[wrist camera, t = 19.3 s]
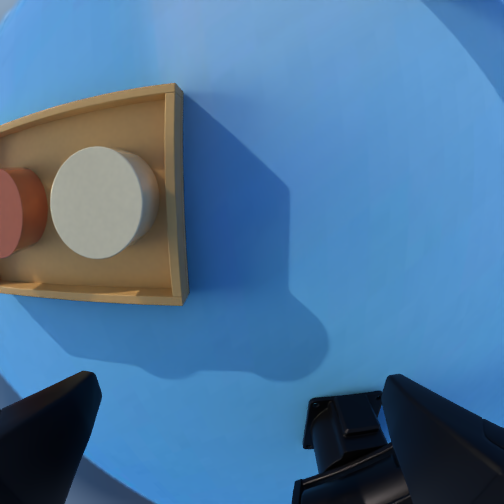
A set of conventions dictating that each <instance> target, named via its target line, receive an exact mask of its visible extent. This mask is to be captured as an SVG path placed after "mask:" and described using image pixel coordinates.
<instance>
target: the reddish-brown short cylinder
mask: <svg viewBox="0 0 504 504" xmlns="http://www.w3.org/2000/svg"><path fill="white" fill-rule="evenodd" d="M47 216H48V204H47V197H46V192H45V189H44V187H43V184H42V182H41V180H40V179H39V177H38V176H37V175H36V174H35V172H33V171H32V170H31V169H29V168H26V167H6V168H0V258H6V257H9V256H11V255H13V254H16V253H18V252H21V251H23V250H25V249H28V248H30V247H32V246H34V245H35V244H36V243H37V242H38V241H39V240H40V238H41V237H42V235H43V233H44V230H45V227H46V223H47Z"/></svg>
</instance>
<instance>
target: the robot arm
mask: <svg viewBox="0 0 504 504" xmlns="http://www.w3.org/2000/svg"><path fill="white" fill-rule="evenodd" d="M378 396H379V397H378ZM101 399H102V393H101V389H100V386H99V383H98V380H97V377H96V375H95V374H94V373H93V372H89V371H81V372H79V373H77V374H75V375H73V376H71V377H69V378H66V379H64V380H62V381H60V382H58V383H56V384H54V385H52V386H50V387H48V388H46V389H43V390H41V391H39V392H37V393H35V394H33V395H31V396H29V397H26V398H24V399H22V400H20V401H18V402H16V403H14V404H11V405H9V406H7V407H5V408H3V409H2V410H0V504H65V501H66V498H67V495H68V492H69V489H70V487H71V484H72V482H73V479H74V476H75V474H76V471H77V468H78V466H79V463H80V460H81V458H82V456H83V453H84V451H85V448H86V446H87V443H88V441H89V438H90V436H91V432H92V429H93V426H94V422H95V419H96V415H97V412H98V409H99V405H100V402H101ZM314 403H317V404H314ZM381 405H382V406H383V410H384V414H385V418H386V422H387V426H388V430H389V435H390V438H391V442H390V443H387V441H386V438H385V436H384V434H383V432H382V429H381V427H380V424H379V421H378V419H377V417H378V414H379V411H380V408H381ZM303 448H304V449H314V451H315V456H316V461H317V467H318V472H319V474H317V475H315V476H312V477H309V478H306V479H300V480H297V481H295V484H294V490H293V497H292V504H504V428H502V427H500V426H498V425H496V424H494V423H492V422H490V421H488V420H486V419H482V417H480V416H478V415H476V414H474V413H472V412H470V411H468V410H466V409H464V408H463V407H461V406H459V405H457V404H455V403H453V402H451V401H449V400H447V399H446V398H444V397H442V396H440V395H438V394H436V393H434V392H433V391H431V390H429V389H427V388H425V387H423V386H422V385H420V384H418V383H416V382H414V381H412V380H411V379H409V378H407V377H405V376H403V375H401V374H395V375H389V376H388V377H387V379H386V382H385V386H384V389H383V392H382V391H374V392H367V393H359V394H351V395H341V396H331V397H319V398H313V399H311V400H310V401H309V404H308V411H307V418H306V425H305V432H304V438H303Z"/></svg>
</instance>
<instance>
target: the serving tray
mask: <svg viewBox="0 0 504 504" xmlns="http://www.w3.org/2000/svg"><path fill="white" fill-rule="evenodd" d="M94 146H101V147H109V148H115V149H122V150H127V151H130V152H132V153H135V154H136V155H138V156H140V157H141V158H142V159H143V160H144V161H145V162H146V163H147V164H148V165H149V167H150V168H151V169H152V171H153V173H154V175H155V177H156V180H157V183H158V188H159V195H160V199H159V210H158V213H157V217H156V219H155V222H154V224H153V226H152V227H151V229H150V230H149V232H148V233H147V234H146V235H145V236H144V237H143V238H142V239H140V240H139V241H138V242H136V243H134V244H133V245H131V246H130V247H128V248H126V249H125V250H123V251H121V252H120V253H118V254H116V255H114V256H112V257H109V258H105V259H91V258H87V257H84V256H81V255H79V254H77V253H76V252H74V251H73V250H72V249H70V248H69V247H68V246H67V245H66V244H65V243H64V241H63V240H62V239H61V237H60V236H59V234H58V232H57V230H56V228H55V226H54V223H53V219H52V215H51V208H50V197H51V190H52V185H53V182H54V179H55V177H56V174H57V173H58V171H59V169H60V167H61V166H62V165H63V163H64V162H65V161H66V160H67V159H68V158H69V157H70V156H72V155H73V154H74V153H76V152H78V151H79V150H82V149H84V148H88V147H94ZM6 167H26V168H29V169H31V170H32V171H33V172H35V174H36V175H37V176H38V177H39V179H40V180H41V182H42V184H43V187H44V189H45V192H46V197H47V204H48V216H47V223H46V227H45V230H44V233H43V235H42V237H41V238H40V240H39V241H38V242H37V243H36V244H35V245H34V246H32V247H30V248H28V249H25V250H23V251H21V252H18V253H16V254H13V255H11V256H9V257H6V258H0V293H5V294H14V295H23V296H32V297H42V298H53V299H65V300H77V301H91V302H106V303H123V304H144V305H171V306H183V304H184V302H185V301H186V299H187V297H188V295H189V282H188V268H187V253H186V236H185V215H184V185H183V91H182V90H181V89H180V88H179V87H178V85H177V84H176V83H170V84H162V85H155V86H148V87H141V88H135V89H129V90H124V91H118V92H113V93H108V94H104V95H99V96H95V97H90V98H86V99H82V100H78V101H74V102H70V103H67V104H63V105H59V106H56V107H53V108H49V109H46V110H43V111H40V112H36V113H33V114H30V115H28V116H25V117H22V118H19V119H16V120H13V121H11V122H8V123H6V124H3V125H0V168H6Z"/></svg>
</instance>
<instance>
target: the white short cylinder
mask: <svg viewBox="0 0 504 504" xmlns="http://www.w3.org/2000/svg"><path fill="white" fill-rule="evenodd" d="M159 199H160V195H159V188H158V183H157V180H156V177H155V175H154V173H153V171H152V169H151V168H150V167H149V165H148V164H147V163H146V162H145V161H144V160H143V159H142V158H141V157H140V156H138V155H136V154H135V153H132V152H130V151H127V150H122V149H115V148H109V147H101V146H94V147H88V148H84V149H82V150H79V151H78V152H76V153H74V154H73V155H72V156H70V157H69V158H68V159H67V160H66V161H65V162H64V163H63V165H62V166H61V167H60V169H59V171H58V173H57V174H56V177H55V179H54V182H53V185H52V190H51V197H50V208H51V215H52V219H53V223H54V226H55V228H56V230H57V232H58V234H59V236H60V237H61V239H62V240H63V241H64V243H65V244H66V245H67V246H68V247H69V248H70V249H72V250H73V251H74V252H76V253H77V254H79V255H81V256H84V257H87V258H91V259H105V258H109V257H112V256H114V255H116V254H118V253H120V252H121V251H123V250H125V249H126V248H128V247H130V246H131V245H133V244H134V243H136V242H138V241H139V240H140V239H142V238H143V237H144V236H145V235H146V234H147V233H148V232H149V230H150V229H151V227H152V226H153V224H154V222H155V219H156V217H157V213H158V210H159Z"/></svg>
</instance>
